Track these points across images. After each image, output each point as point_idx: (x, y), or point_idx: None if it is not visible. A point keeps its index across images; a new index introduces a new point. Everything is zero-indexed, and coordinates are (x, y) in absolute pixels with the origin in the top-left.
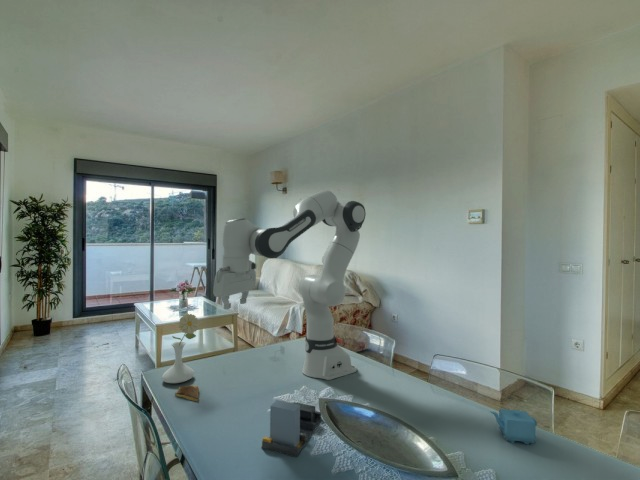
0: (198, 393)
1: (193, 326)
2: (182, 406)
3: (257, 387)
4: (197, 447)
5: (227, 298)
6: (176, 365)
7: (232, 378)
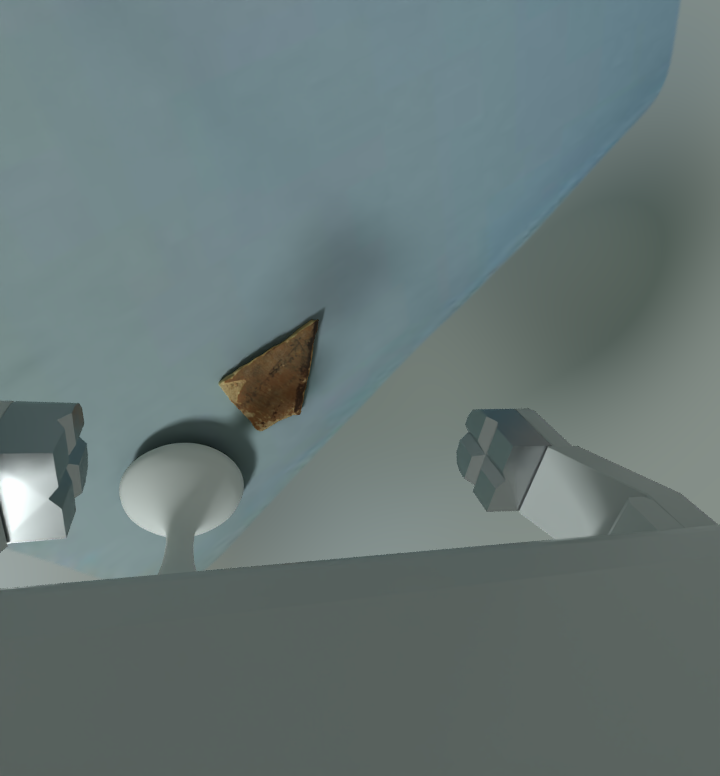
0: (274, 346)
1: None
2: (355, 345)
3: (99, 118)
4: (560, 160)
5: (677, 505)
6: (199, 519)
7: (66, 298)
